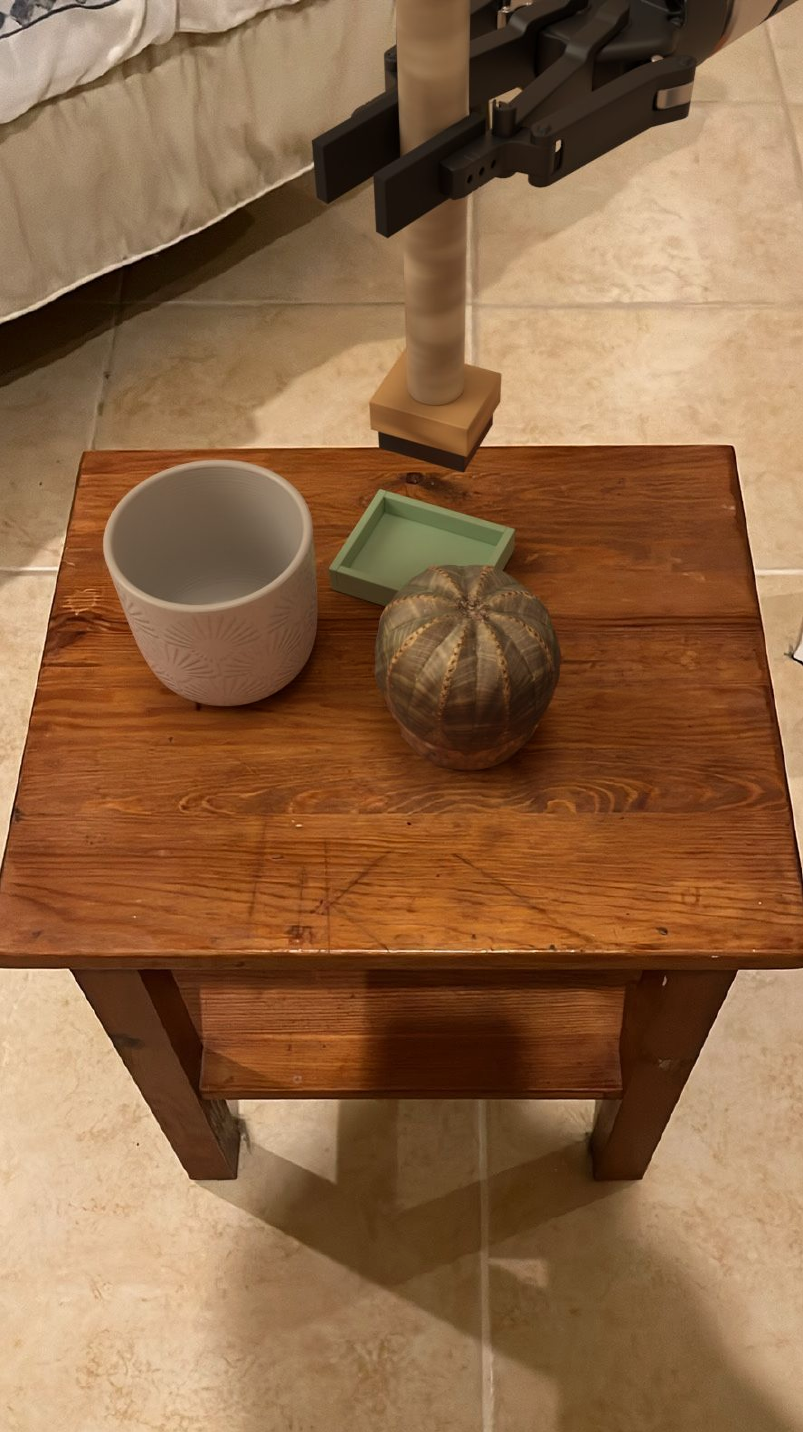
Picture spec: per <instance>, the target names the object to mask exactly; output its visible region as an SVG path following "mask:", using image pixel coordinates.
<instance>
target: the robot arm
mask: <svg viewBox="0 0 803 1432" xmlns="http://www.w3.org/2000/svg"><path fill="white" fill-rule="evenodd" d="M798 1H799V0H470V52H469V110H471V109H473V108H475V107H478V106H480V105H482V104H484V103H487V102H489V101H491V100H492V105H491V128H489V129H486V127H487V117H485V116H483V115H482V114H480V113H477V112H475V111H473V112H471V113H469V115H468V116H466V117H465V118H463V119H462V120H460V121H459V122H457V123H455V124H453V125H452V126H450V127H448V128H447V129H445V130H444V131H442V132H440V133H439V134H437V135H436V136H434V137H432V138H431V139H429V140H428V141H426V142H424V143H423V144H421V145H419V146H418V147H416V148H415V149H413V150H411V151H410V152H408V153H407V154H405V155H403V156H402V157H400V133H399V100H398V67H397V43H396V44H394V45H393V46H391V47H390V48H388V49H387V50H386V51H384V54H383V69H384V71H383V72H384V92H382V93H380V94H379V95H377V96H375V97H374V98H371V100H368V101H367V102H365V103H364V104H361V105H360V106H358V107H357V108H355V109H354V111H352V113H351V114H350V117H349V118H347V119H346V120H345V119H344V120H343V121H342V122H340V123H338V124H337V125H335V126H334V127H332V128H330V129H328V130H327V131H325V132H323V133H322V134H320V135H318V136H316V137H315V138H313V139H311V149H312V158H313V159H312V160H313V161H312V162H313V171H314V172H313V173H314V183H315V193H316V195H315V196H316V199H318V200H320V201H321V202H323V203H325V204H326V205H329V204H331V203H332V202H334V201H335V200H338V199H339V198H340V197H342V196H343V195H346V194H347V193H349V192H350V191H352V190H354V189H355V188H356V187H358V186H360V185H361V184H363V183H365V182H366V181H368V180H370V179H371V178H373V179H372V181H373V199H374V217H375V219H374V220H375V232H376V233H377V234H379V235H380V236H383V237H384V238H385V239H389V238H392V236H395V235H396V234H397V233H398V232H400V231H402V229H403V228H405V227H406V226H408V225H409V224H411V223H412V222H414V221H415V220H417V219H419V218H420V217H422V216H423V215H425V214H426V213H428V212H429V211H431V210H432V209H434V208H435V207H437V206H439V205H440V204H442V203H443V202H445V201H446V200H448V199H449V198H450V199H452V200H457V199H461V198H464V197H466V196H467V197H468V196H469V195H471V194H472V193H473V192H476V191H477V190H478V189H479V188H481V187H483V186H484V185H486V184H487V183H489V182H491V181H492V180H494V179H495V178H497V179H509V178H511V177H513V176H515V175H516V173H519V174H524V175H527V182H528V184H529V185H530V186H532V187H535V188H537V189H538V188H539V189H542V188H547V187H550V186H551V185H554V184H555V183H557V182H559V181H561V180H562V179H564V178H565V177H568V176H569V175H571V174H572V173H574V172H576V171H578V170H580V169H581V168H584V167H585V166H587V165H589V164H591V163H592V162H593V161H595V160H597V159H599V158H601V157H602V156H604V155H606V154H608V153H609V152H611V151H613V150H614V149H616V148H618V147H620V146H621V145H623V144H625V143H627V142H629V141H631V140H632V139H634V138H636V137H637V136H639V135H640V134H643V133H645V132H646V131H648V130H649V129H651V128H655V127H659V126H662V125H667V124H670V123H674V122H678V121H682V120H684V119H687V118H688V117H689V113H690V108H691V102H692V97H693V89H694V84H695V78H696V77H695V76H696V71H697V68H698V67H700V66H701V65H702V64H703V63H704V62H705V61H707V60H708V59H709V58H712V57H713V56H714V55H716V54H718V53H719V52H721V51H722V50H724V49H725V48H727V47H728V46H730V45H732V44H733V43H734V42H735V41H737V40H739V39H740V38H742V37H743V36H745V35H746V34H748V33H750V32H751V31H752V30H753V29H756V28H757V27H759V26H760V25H761V24H763V23H765V22H766V21H768V20H769V19H771V18H772V17H774V16H775V15H777V14H779V13H780V12H782V11H783V10H785V9H787V8H789V7H790V6H791V5H793V4H795V3H797V2H798ZM516 89H519V90H520V92H519V93H518V94H517V95H516V96H514V97H513V98H512V99H511V100H510V101H509V102H505V101H502V100H498V106H497V98H498V97H500V96H502V95H504V94H507V93H509V92H511V91H513V90H516ZM559 141H560V147H559V148H558V150H557V142H559Z"/></svg>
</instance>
